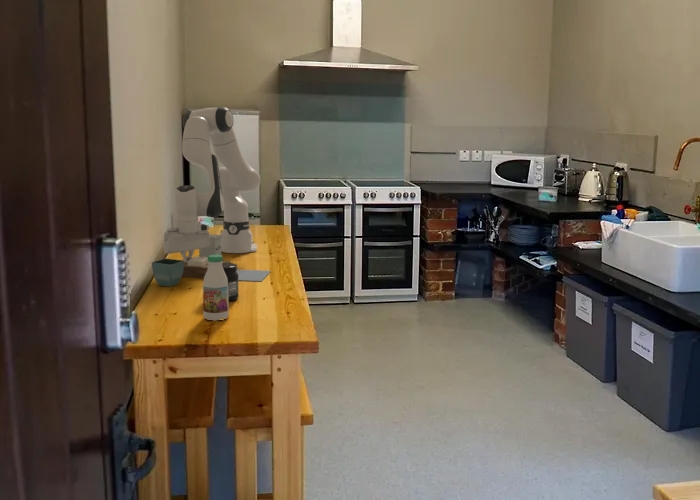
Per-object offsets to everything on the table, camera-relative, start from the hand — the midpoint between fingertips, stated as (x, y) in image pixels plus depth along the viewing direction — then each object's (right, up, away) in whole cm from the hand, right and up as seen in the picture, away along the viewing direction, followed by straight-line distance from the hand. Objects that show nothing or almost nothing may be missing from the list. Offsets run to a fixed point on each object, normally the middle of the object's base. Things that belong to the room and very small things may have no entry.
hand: (187, 261), depth 272 cm
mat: (+24, -6, -1) cm, 25 cm away
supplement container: (+21, -13, -36) cm, 44 cm away
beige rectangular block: (+5, -1, 0) cm, 5 cm away
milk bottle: (+23, -17, -59) cm, 66 cm away
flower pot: (-2, -9, -19) cm, 21 cm away
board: (+6, -5, 0) cm, 8 cm away
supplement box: (+6, -2, +17) cm, 18 cm away
